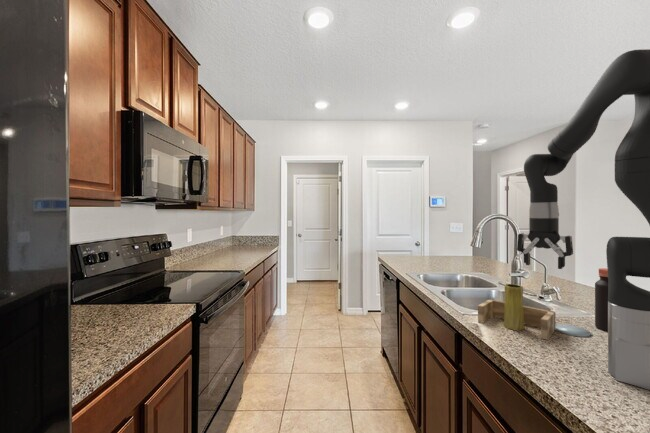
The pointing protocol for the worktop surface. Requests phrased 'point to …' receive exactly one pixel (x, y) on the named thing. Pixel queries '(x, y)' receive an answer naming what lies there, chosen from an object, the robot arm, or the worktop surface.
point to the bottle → (601, 300)
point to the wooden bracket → (531, 316)
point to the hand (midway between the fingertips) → (543, 266)
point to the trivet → (572, 330)
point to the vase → (513, 307)
